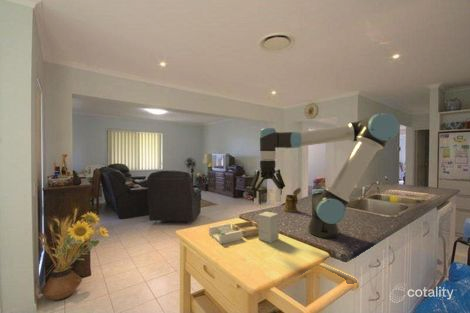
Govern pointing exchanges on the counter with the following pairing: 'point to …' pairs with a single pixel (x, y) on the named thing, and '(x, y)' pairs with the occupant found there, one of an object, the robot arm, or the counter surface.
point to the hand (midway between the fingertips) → (267, 203)
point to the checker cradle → (225, 234)
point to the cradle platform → (224, 229)
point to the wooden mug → (291, 201)
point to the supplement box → (268, 226)
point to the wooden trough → (247, 228)
